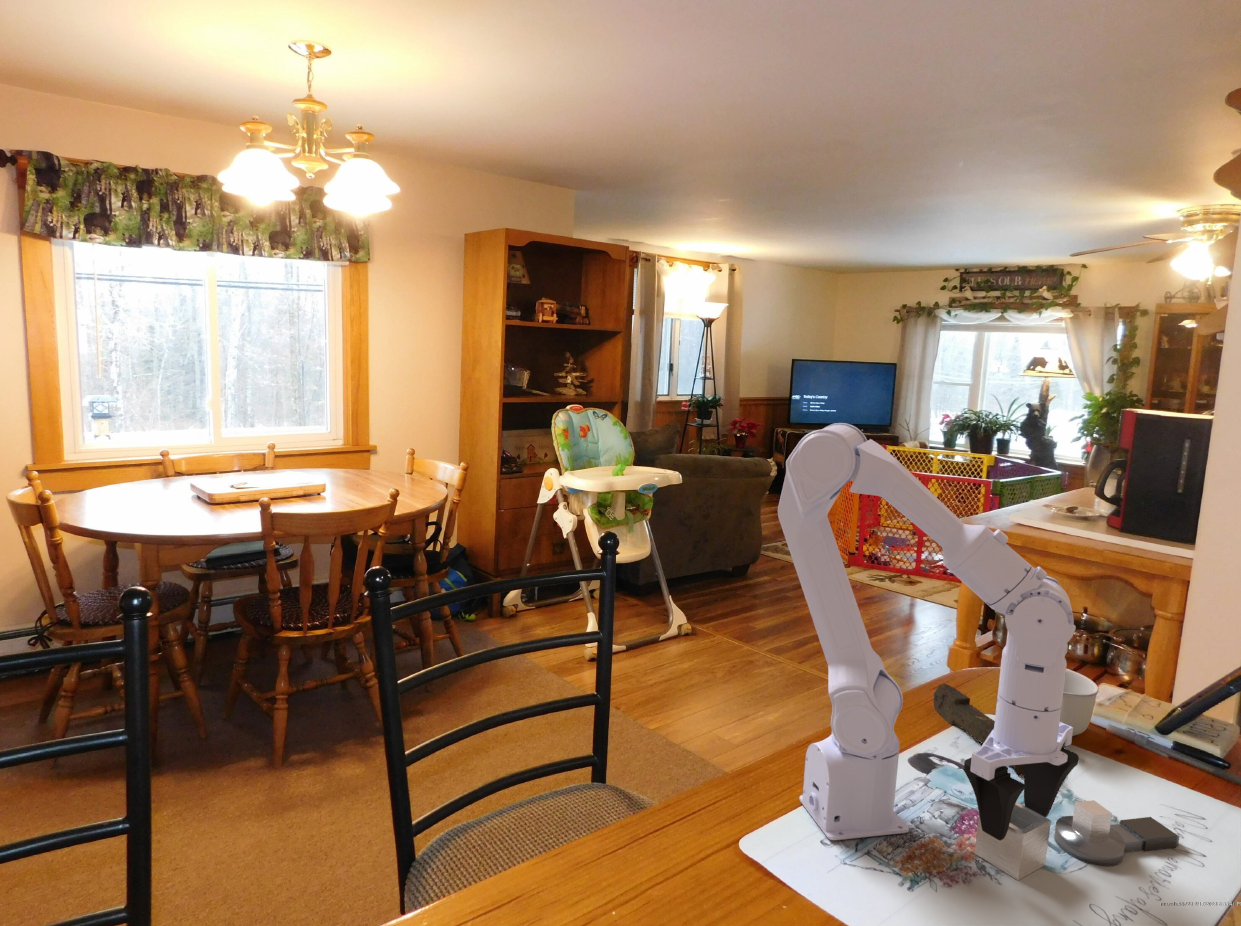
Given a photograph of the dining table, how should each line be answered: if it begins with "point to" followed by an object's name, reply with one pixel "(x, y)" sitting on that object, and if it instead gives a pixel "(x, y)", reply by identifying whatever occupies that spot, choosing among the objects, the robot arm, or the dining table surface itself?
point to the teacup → (1077, 701)
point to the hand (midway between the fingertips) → (1015, 823)
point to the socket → (1017, 843)
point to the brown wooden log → (965, 715)
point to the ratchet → (1108, 835)
